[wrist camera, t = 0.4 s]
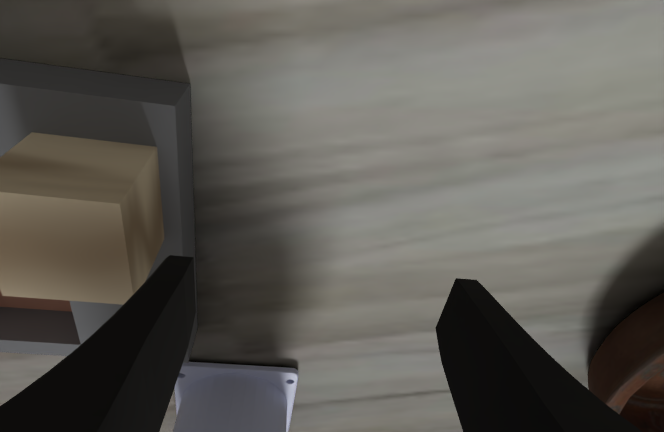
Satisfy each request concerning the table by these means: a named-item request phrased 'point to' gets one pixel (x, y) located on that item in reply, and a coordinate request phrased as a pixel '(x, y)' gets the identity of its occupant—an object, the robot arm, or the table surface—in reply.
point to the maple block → (78, 218)
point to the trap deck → (108, 125)
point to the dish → (633, 368)
